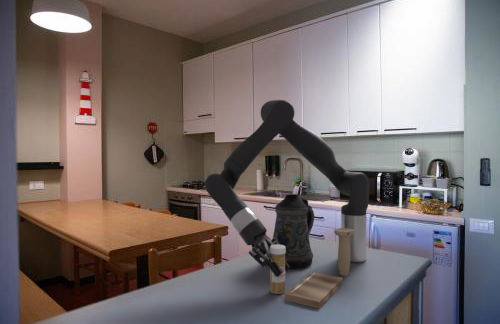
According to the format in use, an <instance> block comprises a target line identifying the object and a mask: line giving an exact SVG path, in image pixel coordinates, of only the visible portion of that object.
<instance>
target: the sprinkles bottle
mask: <svg viewBox="0 0 500 324" xmlns="http://www.w3.org/2000/svg"><path fill="white" fill-rule="evenodd" d="M270 252H271V256H272V258H273V260H274V262H275V263H276V264H277V265H278V267H279V268H280V269H281V270H282V274H281V275H280V276H278V277H276V276H275V275H274V273H273V272H272V271H271V269H270V268H269V277H270V278H269V280H270V290H269V291H270V293H271V294H273V295H282V294H285V293H286V272H285V253H286V248H285V246H284V245H279V244H276V245H271V246H270ZM274 262H273V263H274Z"/></svg>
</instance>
